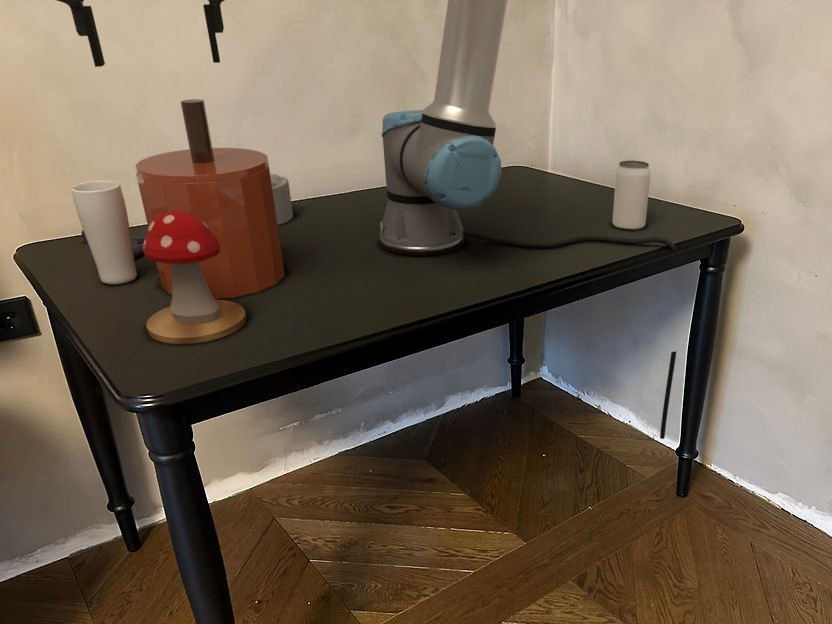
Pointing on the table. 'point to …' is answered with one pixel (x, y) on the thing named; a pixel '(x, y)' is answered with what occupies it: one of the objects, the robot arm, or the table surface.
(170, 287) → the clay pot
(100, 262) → the drinking glass
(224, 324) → the round golden metal disc
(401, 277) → the table surface
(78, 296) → the table surface
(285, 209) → the lumpy-topped squat cylinder
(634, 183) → the can
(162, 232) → the decorative mushroom
